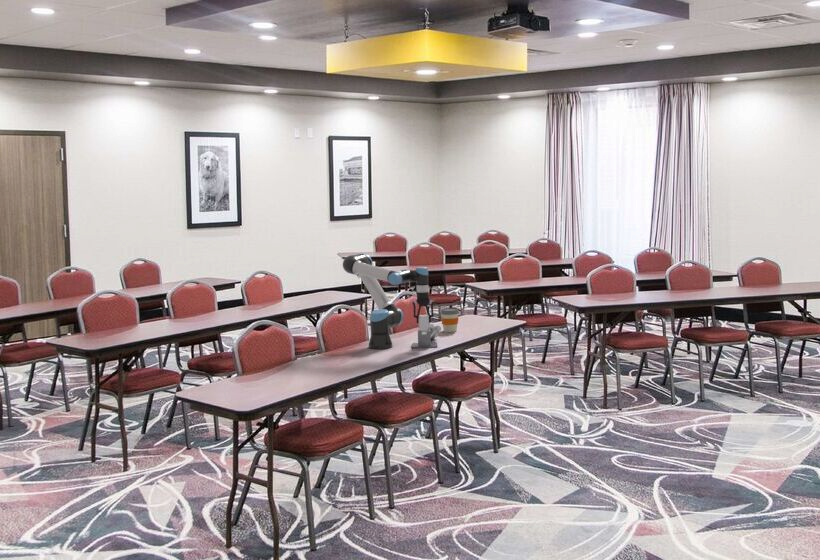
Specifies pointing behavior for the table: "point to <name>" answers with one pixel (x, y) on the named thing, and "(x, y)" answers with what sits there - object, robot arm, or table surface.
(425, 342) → the stand base
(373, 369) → the table surface
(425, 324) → the column
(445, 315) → the reusable coffee cup
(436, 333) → the valve
